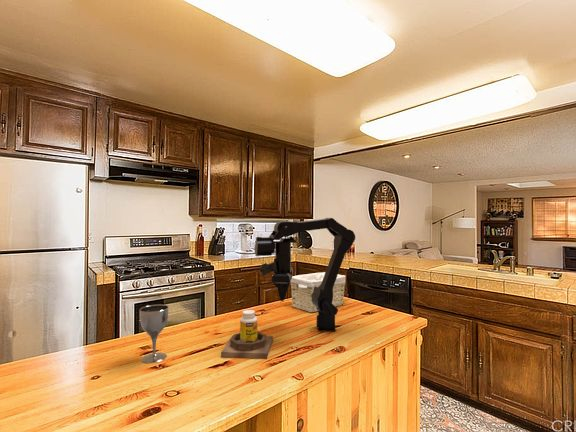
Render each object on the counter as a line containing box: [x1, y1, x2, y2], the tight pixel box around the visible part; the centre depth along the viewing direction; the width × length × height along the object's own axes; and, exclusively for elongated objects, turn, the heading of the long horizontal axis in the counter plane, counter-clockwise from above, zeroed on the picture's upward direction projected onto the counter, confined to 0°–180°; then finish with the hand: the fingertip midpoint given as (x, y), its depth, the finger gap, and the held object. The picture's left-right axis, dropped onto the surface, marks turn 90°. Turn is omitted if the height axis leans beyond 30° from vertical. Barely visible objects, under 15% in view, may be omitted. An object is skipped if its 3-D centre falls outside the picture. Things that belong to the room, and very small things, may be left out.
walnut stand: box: [220, 330, 274, 359], centre depth 100 cm, size 14×14×4 cm
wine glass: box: [139, 303, 169, 364], centre depth 94 cm, size 8×8×15 cm
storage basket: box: [290, 271, 347, 313], centre depth 150 cm, size 24×16×15 cm
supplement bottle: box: [239, 309, 258, 343], centre depth 101 cm, size 6×6×10 cm
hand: (283, 297), depth 114 cm, fingers open, 9 cm apart
